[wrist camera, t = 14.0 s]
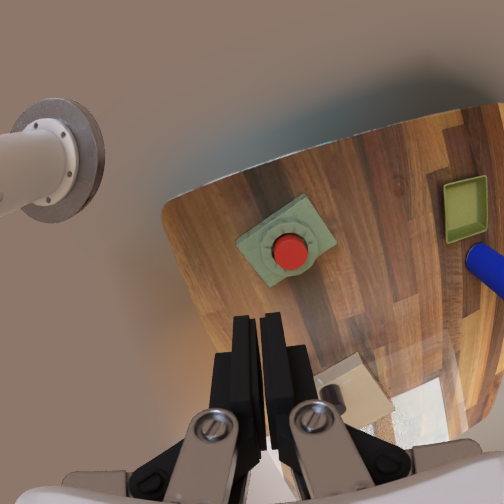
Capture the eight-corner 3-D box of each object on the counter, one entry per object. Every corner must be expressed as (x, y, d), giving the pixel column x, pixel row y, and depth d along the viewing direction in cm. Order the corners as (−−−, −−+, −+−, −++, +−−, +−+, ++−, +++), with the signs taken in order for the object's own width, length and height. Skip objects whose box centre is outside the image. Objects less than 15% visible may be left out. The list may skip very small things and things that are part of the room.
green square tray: (480, 226, 37) (487, 231, 36) (439, 239, 38) (446, 245, 36) (478, 171, 34) (486, 174, 32) (435, 181, 35) (443, 184, 33)
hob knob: (318, 386, 44) (323, 408, 40) (340, 381, 44) (347, 403, 40) (318, 399, 46) (323, 421, 41) (340, 395, 45) (346, 417, 41)
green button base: (268, 280, 40) (270, 295, 36) (236, 239, 38) (234, 251, 34) (333, 237, 38) (341, 249, 34) (303, 192, 36) (310, 200, 32)
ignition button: (284, 269, 36) (286, 276, 34) (267, 246, 34) (268, 252, 33) (310, 252, 35) (313, 258, 33) (293, 228, 34) (296, 233, 32)
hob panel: (330, 430, 54) (333, 442, 51) (279, 385, 48) (280, 398, 45) (390, 399, 51) (395, 410, 48) (352, 344, 45) (358, 357, 42)
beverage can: (478, 273, 41) (533, 320, 27) (460, 268, 40) (517, 318, 26) (489, 245, 39) (549, 286, 25) (471, 238, 38) (534, 282, 24)
